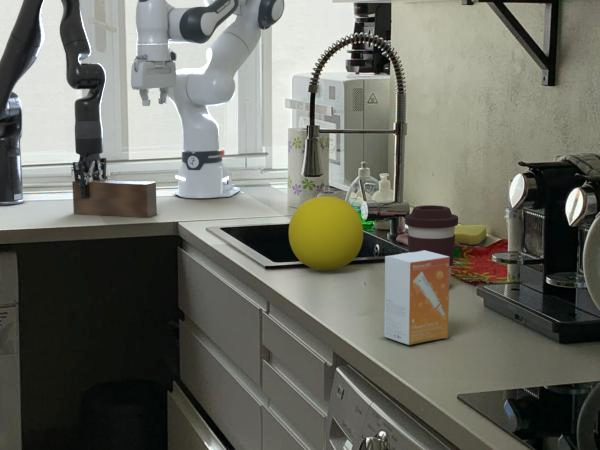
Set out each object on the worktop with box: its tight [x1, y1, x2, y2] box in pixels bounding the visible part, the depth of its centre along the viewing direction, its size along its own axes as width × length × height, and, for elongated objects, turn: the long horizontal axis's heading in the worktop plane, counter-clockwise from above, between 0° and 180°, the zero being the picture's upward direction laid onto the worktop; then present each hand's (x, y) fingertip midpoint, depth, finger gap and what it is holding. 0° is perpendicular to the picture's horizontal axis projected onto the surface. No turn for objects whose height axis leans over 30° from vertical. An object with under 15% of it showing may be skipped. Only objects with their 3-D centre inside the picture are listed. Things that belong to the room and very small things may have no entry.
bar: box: [72, 179, 158, 219], centre depth 289 cm, size 23×5×9 cm, turn 70°
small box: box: [383, 250, 450, 346], centre depth 162 cm, size 8×6×13 cm
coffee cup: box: [404, 204, 459, 286], centre depth 197 cm, size 10×10×15 cm
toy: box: [288, 195, 364, 271], centre depth 213 cm, size 15×15×15 cm
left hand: (91, 196), depth 291 cm, fingers open, 5 cm apart
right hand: (154, 105), depth 292 cm, fingers open, 8 cm apart
